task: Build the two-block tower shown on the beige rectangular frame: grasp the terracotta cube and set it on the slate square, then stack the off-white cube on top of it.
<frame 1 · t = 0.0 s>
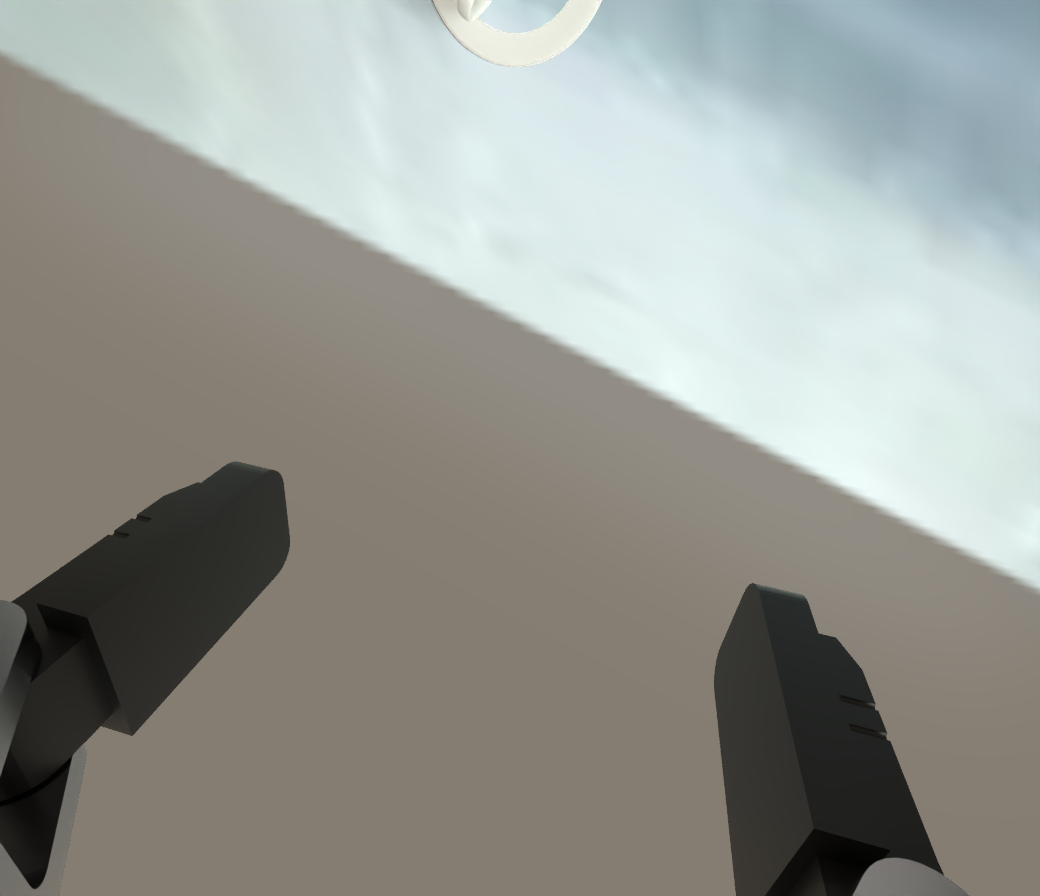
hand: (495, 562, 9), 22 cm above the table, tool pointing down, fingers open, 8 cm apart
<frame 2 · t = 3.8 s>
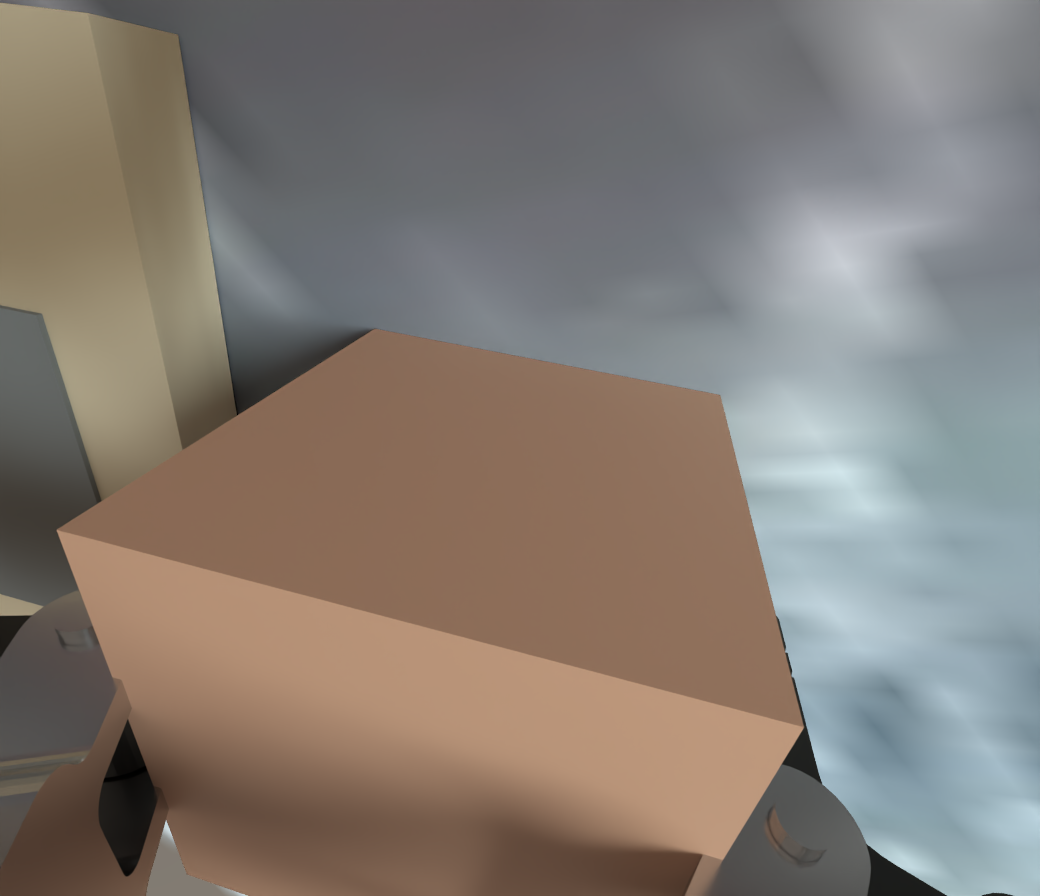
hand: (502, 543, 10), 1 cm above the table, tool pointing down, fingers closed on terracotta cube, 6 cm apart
beige rectangular frame: (15, 428, 13), on the table
terracotta cube: (519, 503, 11), on the table, touching gripper
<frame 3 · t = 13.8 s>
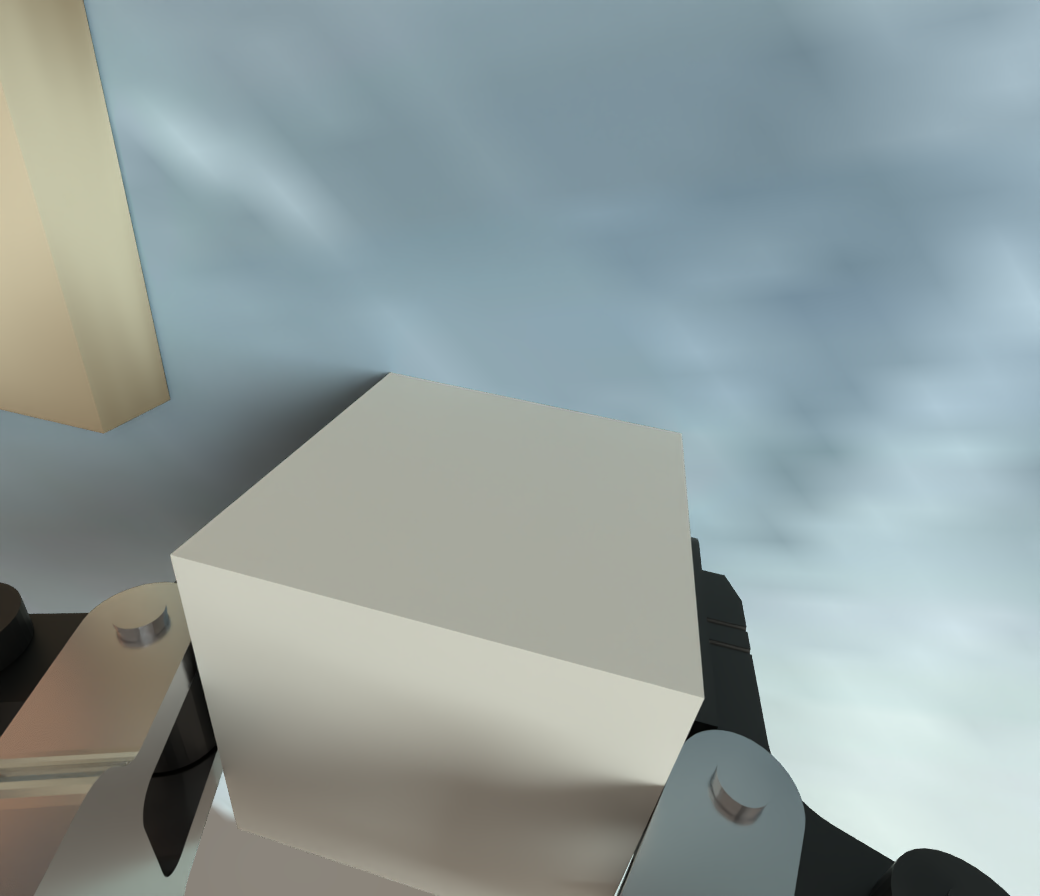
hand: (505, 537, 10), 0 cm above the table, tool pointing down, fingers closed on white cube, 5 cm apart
white cube: (513, 520, 10), on the table, touching gripper
when the fingers open (9 cm above the table, at t = 19.2 s): white cube drops 1 cm, resting on terracotta cube.
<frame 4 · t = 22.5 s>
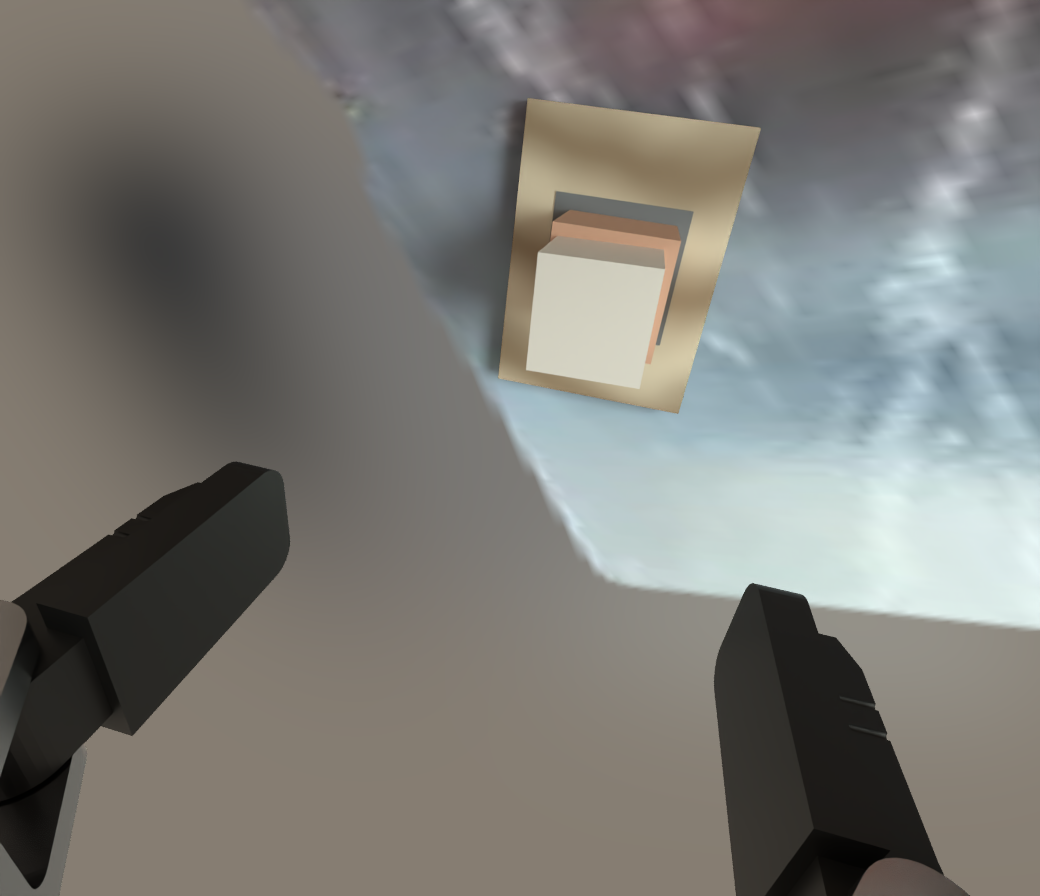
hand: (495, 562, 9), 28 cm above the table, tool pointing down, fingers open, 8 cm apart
beige rectangular frame: (612, 266, 34), on the table
white cube: (601, 295, 27), point 8 cm above the table, touching terracotta cube
terracotta cube: (612, 272, 32), point 2 cm above the table, touching beige rectangular frame, white cube
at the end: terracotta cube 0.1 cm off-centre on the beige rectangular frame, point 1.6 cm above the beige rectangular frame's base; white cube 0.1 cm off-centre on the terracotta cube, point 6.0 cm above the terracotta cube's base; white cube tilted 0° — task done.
